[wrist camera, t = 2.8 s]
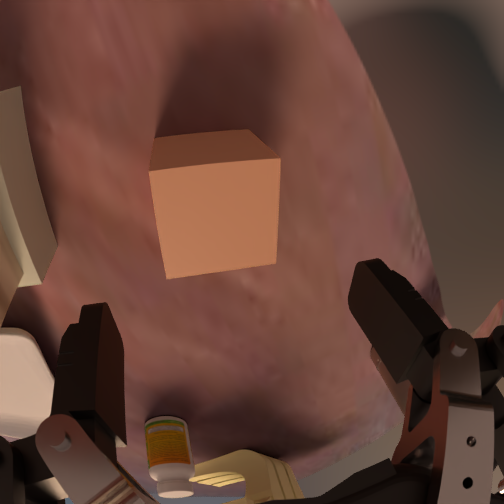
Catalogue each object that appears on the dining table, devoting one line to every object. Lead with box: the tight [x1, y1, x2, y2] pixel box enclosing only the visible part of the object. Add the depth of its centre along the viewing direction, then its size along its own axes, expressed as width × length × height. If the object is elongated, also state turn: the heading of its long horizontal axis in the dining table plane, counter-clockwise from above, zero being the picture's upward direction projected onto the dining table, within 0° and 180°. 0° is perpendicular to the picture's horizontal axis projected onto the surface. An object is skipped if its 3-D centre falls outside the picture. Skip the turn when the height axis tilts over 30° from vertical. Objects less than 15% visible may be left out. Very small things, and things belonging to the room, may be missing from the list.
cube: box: [149, 129, 281, 279], centre depth 17 cm, size 6×6×6 cm
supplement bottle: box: [145, 416, 195, 498], centre depth 30 cm, size 5×5×10 cm
